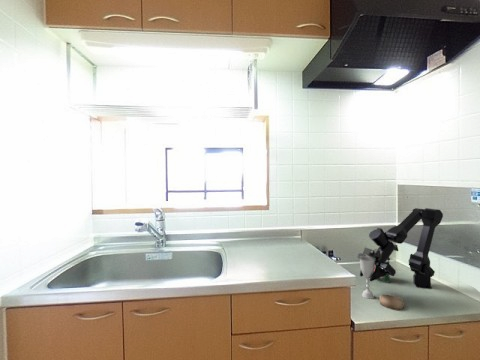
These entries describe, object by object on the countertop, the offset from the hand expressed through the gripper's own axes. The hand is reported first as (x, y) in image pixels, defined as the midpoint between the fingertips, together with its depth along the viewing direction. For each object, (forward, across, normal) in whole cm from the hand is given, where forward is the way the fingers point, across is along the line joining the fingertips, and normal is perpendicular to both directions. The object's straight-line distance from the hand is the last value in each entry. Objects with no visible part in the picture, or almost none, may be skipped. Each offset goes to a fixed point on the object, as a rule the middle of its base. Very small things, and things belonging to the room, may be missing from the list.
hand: (365, 278), depth 124 cm
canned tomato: (-9, -13, +22) cm, 27 cm away
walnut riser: (+3, +10, +10) cm, 14 cm away
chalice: (+5, 0, +7) cm, 9 cm away
